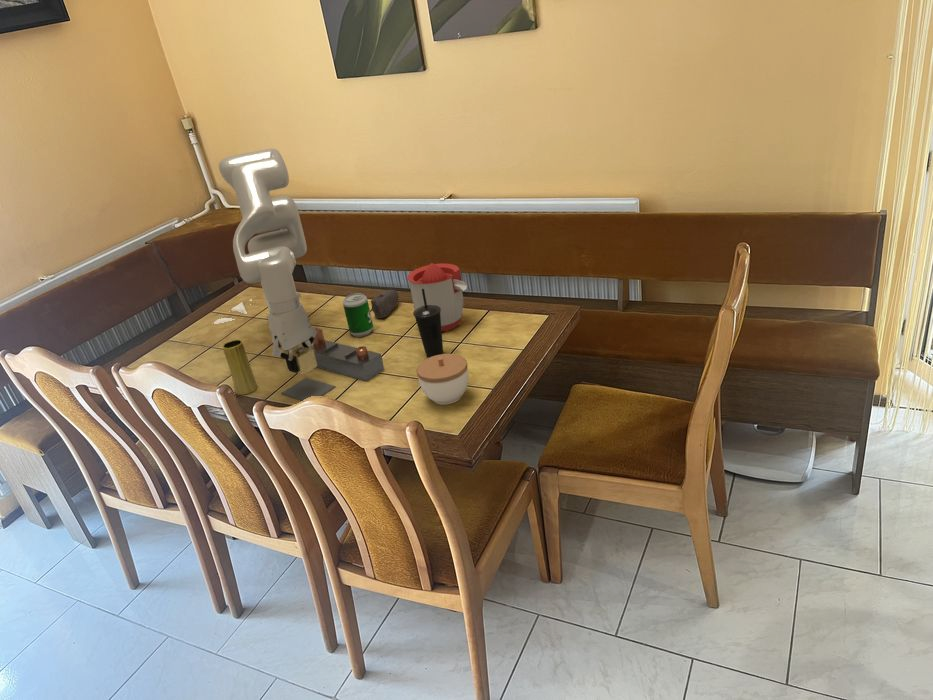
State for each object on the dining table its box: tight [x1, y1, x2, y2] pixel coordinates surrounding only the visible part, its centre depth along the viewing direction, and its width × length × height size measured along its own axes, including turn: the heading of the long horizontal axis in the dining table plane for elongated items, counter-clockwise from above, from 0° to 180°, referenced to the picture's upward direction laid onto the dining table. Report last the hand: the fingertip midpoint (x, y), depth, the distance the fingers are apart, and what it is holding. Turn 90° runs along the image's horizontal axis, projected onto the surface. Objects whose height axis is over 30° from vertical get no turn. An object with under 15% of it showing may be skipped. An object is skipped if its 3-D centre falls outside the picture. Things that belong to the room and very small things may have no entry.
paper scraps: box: [213, 298, 253, 324], centre depth 252 cm, size 26×14×2 cm, turn 149°
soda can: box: [342, 292, 374, 338], centre depth 221 cm, size 8×8×12 cm
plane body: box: [312, 327, 385, 382], centre depth 202 cm, size 24×7×10 cm, turn 53°
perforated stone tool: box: [370, 289, 399, 319], centre depth 234 cm, size 15×5×7 cm, turn 155°
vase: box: [222, 339, 259, 396], centre depth 197 cm, size 6×6×14 cm
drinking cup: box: [412, 289, 444, 359], centre depth 198 cm, size 8×8×20 cm
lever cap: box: [283, 345, 317, 375], centre depth 190 cm, size 7×5×6 cm
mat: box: [280, 377, 336, 402], centre depth 194 cm, size 12×9×1 cm
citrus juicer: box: [407, 262, 468, 332], centre depth 216 cm, size 16×17×20 cm
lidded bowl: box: [415, 353, 469, 406], centre depth 178 cm, size 13×13×11 cm
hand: (301, 366), depth 191 cm, fingers closed on lever cap, 4 cm apart
